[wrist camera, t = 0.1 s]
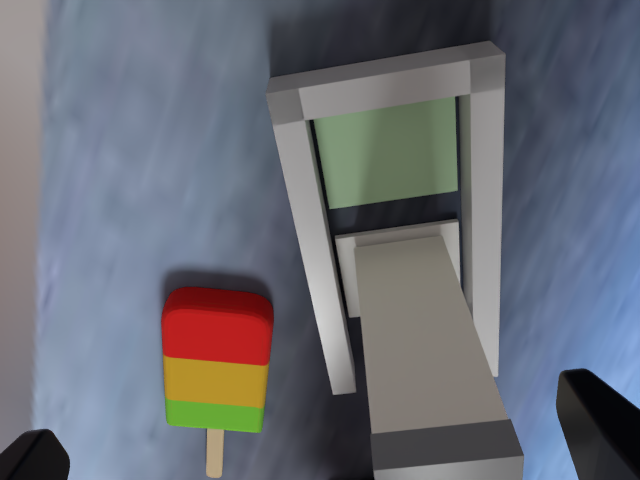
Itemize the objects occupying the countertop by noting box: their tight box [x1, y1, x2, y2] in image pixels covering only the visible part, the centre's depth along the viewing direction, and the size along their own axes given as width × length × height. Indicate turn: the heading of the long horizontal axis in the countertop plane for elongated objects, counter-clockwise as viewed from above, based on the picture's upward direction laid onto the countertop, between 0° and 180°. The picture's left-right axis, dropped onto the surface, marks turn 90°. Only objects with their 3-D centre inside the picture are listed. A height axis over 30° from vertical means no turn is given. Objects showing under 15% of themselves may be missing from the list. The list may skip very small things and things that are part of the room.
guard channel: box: [266, 41, 505, 395], centre depth 24 cm, size 16×8×2 cm, turn 9°
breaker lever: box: [354, 236, 524, 480], centre depth 20 cm, size 4×4×11 cm
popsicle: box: [161, 287, 274, 478], centre depth 30 cm, size 6×15×2 cm, turn 173°
